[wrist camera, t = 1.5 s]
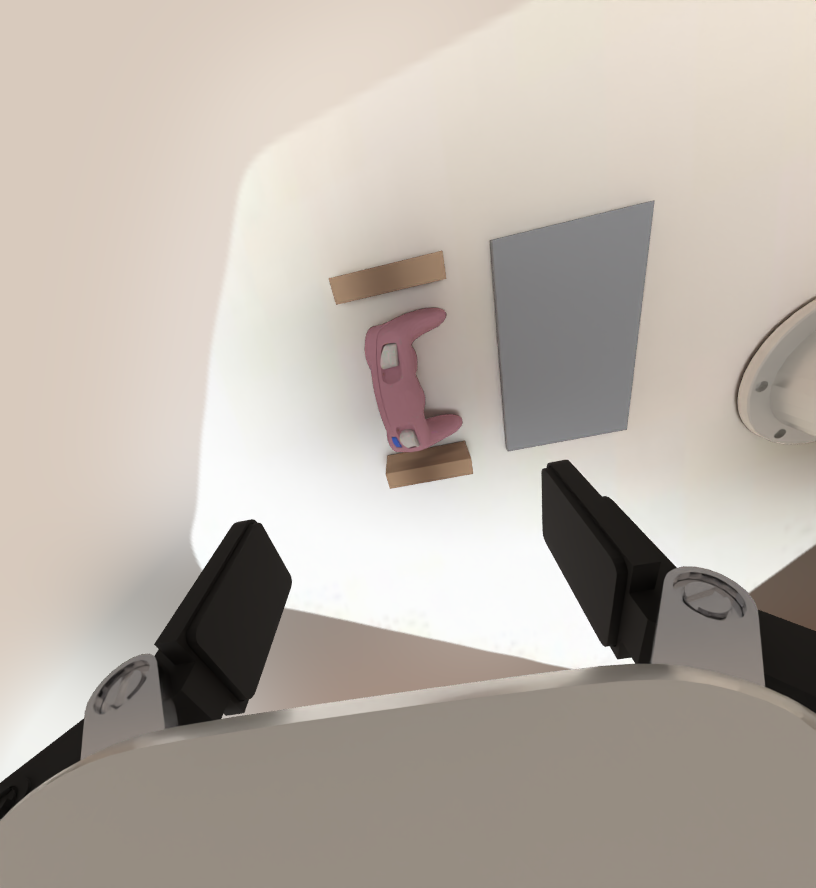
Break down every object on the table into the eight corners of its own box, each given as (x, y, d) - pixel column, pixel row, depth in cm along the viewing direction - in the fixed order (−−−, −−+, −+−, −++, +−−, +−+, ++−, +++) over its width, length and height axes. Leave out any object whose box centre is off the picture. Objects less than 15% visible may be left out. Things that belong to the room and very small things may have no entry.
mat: (647, 202, 20) (654, 200, 20) (622, 426, 28) (626, 429, 27) (489, 240, 21) (492, 240, 21) (506, 448, 29) (507, 451, 28)
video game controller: (393, 310, 25) (339, 333, 19) (449, 300, 22) (405, 322, 17) (418, 424, 29) (381, 468, 24) (467, 425, 27) (437, 473, 22)
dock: (437, 253, 22) (442, 250, 19) (466, 455, 29) (473, 473, 26) (337, 277, 22) (328, 278, 20) (391, 469, 30) (389, 488, 27)
